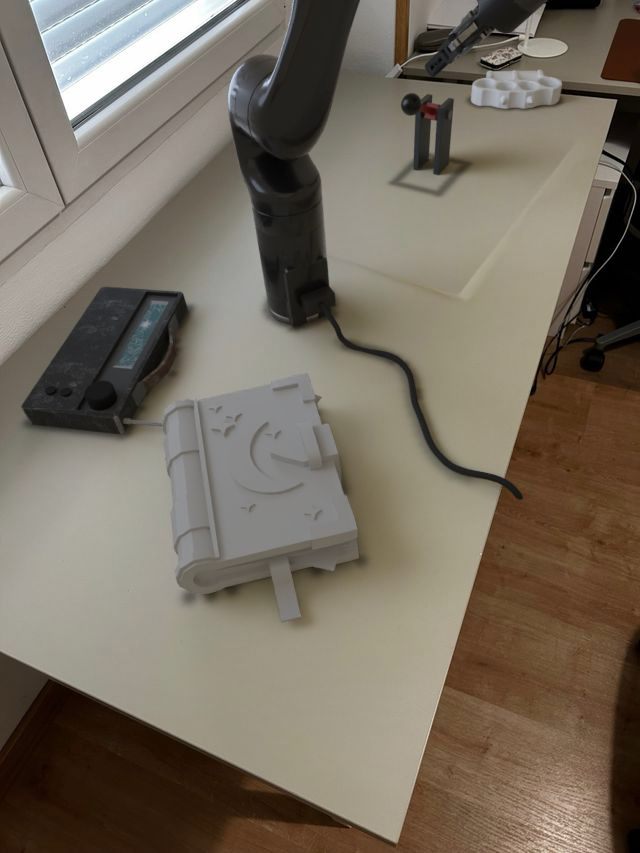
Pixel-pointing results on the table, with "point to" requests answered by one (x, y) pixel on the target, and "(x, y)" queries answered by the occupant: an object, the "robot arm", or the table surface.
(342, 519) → the book
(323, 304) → the robot arm
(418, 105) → the lever
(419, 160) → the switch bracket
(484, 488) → the table surface
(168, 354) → the radio
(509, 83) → the white muffin tray
